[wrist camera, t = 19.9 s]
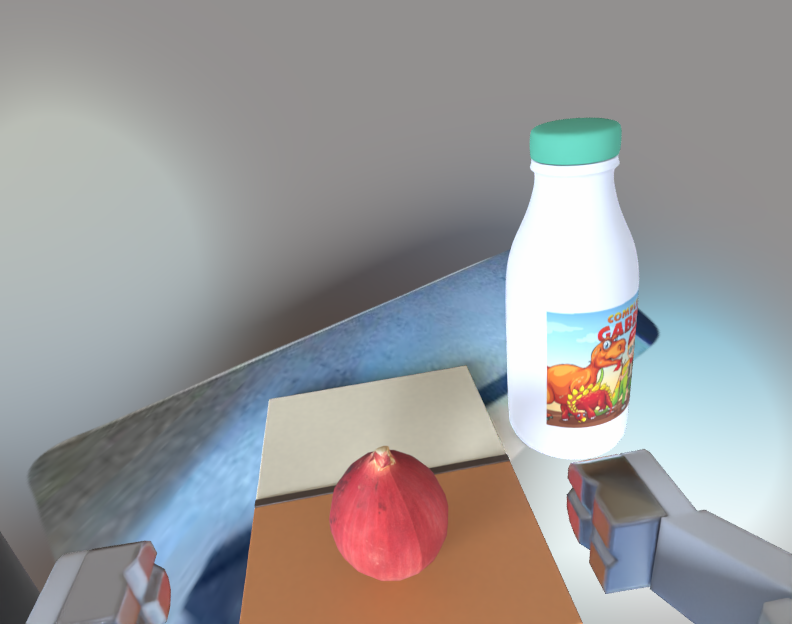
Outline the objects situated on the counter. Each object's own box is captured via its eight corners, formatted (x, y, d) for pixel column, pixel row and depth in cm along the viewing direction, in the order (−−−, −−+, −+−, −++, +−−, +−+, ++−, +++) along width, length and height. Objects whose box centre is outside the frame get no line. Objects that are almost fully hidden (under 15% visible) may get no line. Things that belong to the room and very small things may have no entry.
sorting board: (234, 704, 24) (229, 693, 24) (271, 407, 44) (268, 397, 43) (582, 633, 25) (583, 621, 25) (467, 373, 45) (466, 363, 44)
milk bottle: (499, 453, 36) (486, 144, 27) (518, 385, 43) (512, 115, 33) (626, 472, 34) (660, 135, 24) (626, 396, 40) (652, 106, 31)
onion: (321, 592, 28) (288, 475, 24) (375, 508, 32) (354, 399, 29) (426, 635, 25) (407, 512, 22) (469, 537, 30) (459, 421, 26)
